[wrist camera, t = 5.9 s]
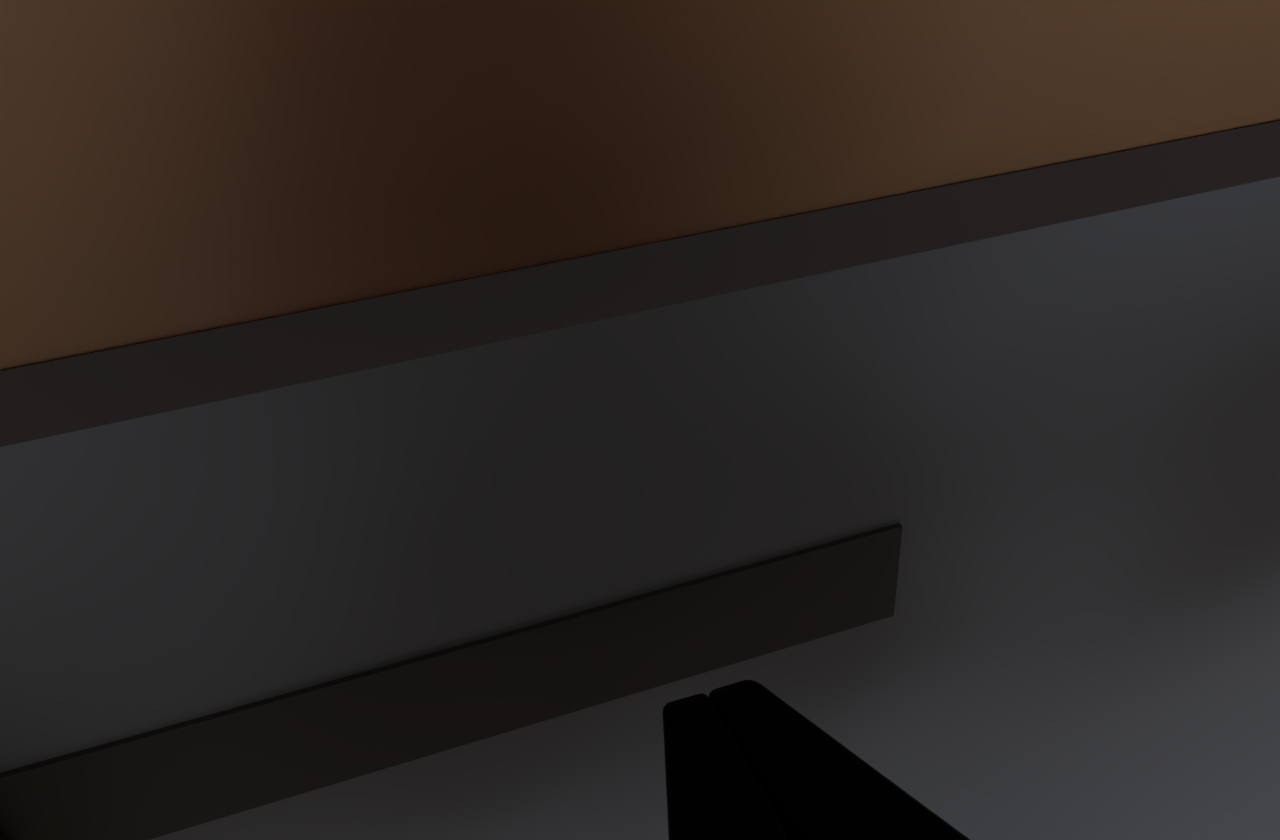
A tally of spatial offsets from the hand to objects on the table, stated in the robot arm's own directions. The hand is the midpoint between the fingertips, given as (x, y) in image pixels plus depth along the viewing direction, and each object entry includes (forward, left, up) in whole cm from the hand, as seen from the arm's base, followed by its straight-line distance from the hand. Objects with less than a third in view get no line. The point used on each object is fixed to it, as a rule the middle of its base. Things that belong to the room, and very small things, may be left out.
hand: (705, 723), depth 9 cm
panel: (-1, +6, -2) cm, 7 cm away
